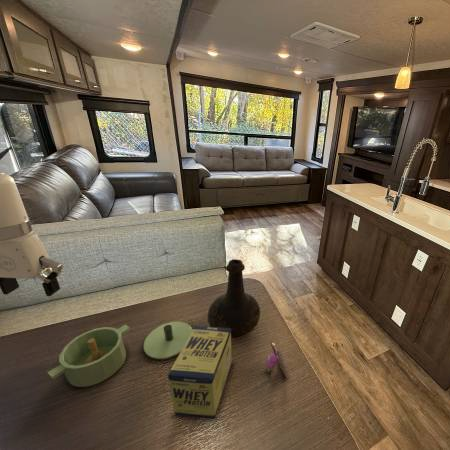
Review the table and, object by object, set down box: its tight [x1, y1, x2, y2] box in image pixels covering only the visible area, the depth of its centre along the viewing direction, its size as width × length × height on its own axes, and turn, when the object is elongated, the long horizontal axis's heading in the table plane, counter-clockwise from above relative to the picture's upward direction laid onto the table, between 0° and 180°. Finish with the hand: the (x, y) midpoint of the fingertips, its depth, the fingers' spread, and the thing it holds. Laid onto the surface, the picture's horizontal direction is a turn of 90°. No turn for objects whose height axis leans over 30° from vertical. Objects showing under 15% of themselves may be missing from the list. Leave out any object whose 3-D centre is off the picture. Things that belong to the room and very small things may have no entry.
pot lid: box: [143, 321, 193, 360], centre depth 81 cm, size 15×15×6 cm
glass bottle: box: [207, 258, 261, 340], centre depth 84 cm, size 18×18×28 cm
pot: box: [46, 324, 131, 388], centre depth 71 cm, size 14×19×8 cm
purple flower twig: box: [266, 341, 287, 379], centre depth 75 cm, size 7×5×9 cm
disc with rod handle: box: [86, 338, 108, 364], centre depth 71 cm, size 5×5×9 cm
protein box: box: [167, 324, 233, 420], centre depth 66 cm, size 10×16×16 cm
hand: (33, 291), depth 61 cm, fingers open, 9 cm apart
